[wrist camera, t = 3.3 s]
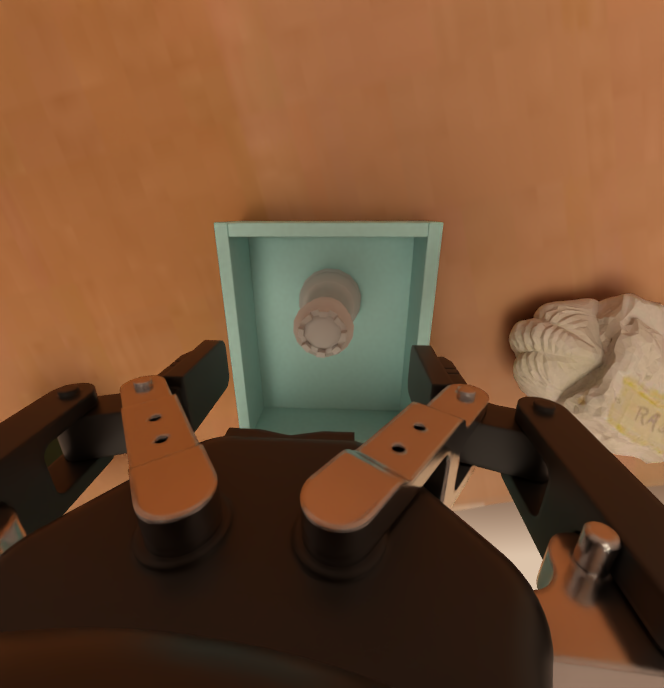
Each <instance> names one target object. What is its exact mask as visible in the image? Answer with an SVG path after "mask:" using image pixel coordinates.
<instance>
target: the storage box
mask: <svg viewBox="0 0 664 688" xmlns="http://www.w3.org/2000/svg"><path fill="white" fill-rule="evenodd" d="M214 230H215V238H216V246H217V254H218V262H219V269H220V277H221V285H222V293H223V301H224V309H225V317H226V325H227V333H228V341H229V348H230V356H231V364H232V372H233V380H234V388H235V396H236V404H237V412H238V420H239V427H240V428H249V429H263V430H267V431H272V432H277V433H281V434H286V435H296V434H304V433H312V432H320V431H335V432H355V441H357V442H361V443H365V442H366V441H367V440H368V439H369V438H370V437H372V436H373V435H374V434H375V433H376V432H378V431H379V430H380V429H381V428H382V427H383V426H385V425H386V424H387V423H388V422H389V421H390V420H392V419H393V418H394V417H395V416H396V415H398V414H399V413H400V412H401V411H402V410H403V409H405V408H406V407H407V406H408V405H409V404H411V400H410V397H409V393H408V373H409V362H410V352H411V347H412V345H429V344H430V335H431V326H432V318H433V309H434V300H435V292H436V283H437V274H438V266H439V257H440V248H441V240H442V231H443V222H435V221H229V222H215V223H214ZM326 268H328V269H339V270H341V271H343V272H345V273H347V274H349V275H350V276H351V277H352V278H353V280H354V281H355V282H356V283H357V284H358V287H359V290H360V294H361V303H360V310H359V313H358V314H357V316H356V318H355V320H354V321H353V324H354V331H353V338H352V340H351V341H350V343H349V345H348V347H347V348H345V349H344V350H343V351H342V352H340V353H339V354H336V355H333V356H329V357H325V358H320V357H316V356H315V355H313V354H311V353H307V352H306V351H305V350H304V349H303V348H302V347H301V346H300V345H299V344H298V343H297V340H296V338H295V335H294V333H293V327H294V319H295V317H296V315H297V313H298V311H299V310H300V307H299V294H300V291H301V288H302V286H303V284H304V282H305V280H306V279H307V278H308V277H310V276H311V275H312V274H313V273H314V272H317V271H320V270H323V269H326Z"/></svg>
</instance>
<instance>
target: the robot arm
mask: <svg viewBox="0 0 664 688" xmlns="http://www.w3.org/2000/svg"><path fill="white" fill-rule="evenodd" d="M228 382H229V370H228V362H227V354H226V347H225V343H224V342H223V341H218V340H205V341H203V342H202V343H201V344H200V345H198V346H197V347H196V348H195V349H194V350H193V351H190V352H188V353H186V354H184V355H181V356H180V357H179V358H178V359H177V360H175V362H173V363H172V364H171V365H170V366H168V367H167V368H166V369H164V370H163V371H162V372H161V373H160V374H158V375H157V376H156V375H151V376H143V377H139V378H135V379H132V380H130V381H128V382H126V383H125V384H123V385H122V386H121V388H120V393H119V394H112V395H104V396H97V393H96V390H95V386H94V385H92V384H89V383H78V384H71V385H66V386H63V387H60V388H58V389H55V390H53V391H51V392H49V393H47V394H46V395H44V396H43V397H41V398H39V399H38V400H36V401H35V402H33V403H32V404H30V405H28V406H27V407H25V408H24V409H22V410H20V411H19V412H17V413H16V414H14V415H12V416H11V417H9V418H8V419H6V420H5V421H3V422H1V423H0V688H664V505H663V504H662V503H661V502H660V501H659V500H658V499H657V498H656V497H655V496H654V495H653V494H652V493H651V492H650V491H649V490H648V489H647V488H646V487H645V486H644V485H643V484H642V483H641V482H640V481H639V480H638V479H637V478H636V477H635V476H634V475H633V474H632V473H631V472H630V471H629V470H628V469H627V468H626V467H625V466H624V465H623V464H622V463H621V462H620V461H619V460H618V459H617V458H616V457H615V456H614V455H613V454H612V453H611V452H610V451H609V450H608V449H607V448H606V447H605V446H604V445H603V444H602V443H601V442H600V441H599V440H598V439H597V438H596V437H595V436H594V435H593V434H592V433H591V432H590V431H589V430H588V429H587V428H586V427H585V426H584V425H583V424H582V423H581V422H580V421H579V420H578V419H577V418H576V417H575V416H574V415H573V414H572V413H571V412H570V411H569V410H568V409H566V408H565V407H564V406H562V405H560V404H559V403H556V402H554V401H551V400H548V399H545V398H540V397H523V398H521V399H519V400H518V403H517V407H516V409H514V408H508V407H503V406H498V405H494V404H491V403H488V402H489V396H488V394H487V393H486V392H485V391H483V390H482V389H480V388H477V387H475V386H471V385H467V383H466V382H465V380H464V379H463V377H462V376H461V375H460V374H459V372H458V370H457V369H456V367H455V366H454V364H453V363H452V362H451V361H449V360H448V359H446V358H444V357H437V355H436V354H435V352H434V350H433V349H432V347H431V346H430V345H412V347H411V352H410V362H409V373H408V393H409V397H410V400H411V404H409V405H408V406H407V407H406V408H405V409H403V410H402V411H401V412H400V413H399V414H398V415H396V416H395V417H394V418H393V419H392V420H390V421H389V422H388V423H387V424H386V425H385V426H383V427H382V428H381V429H380V430H379V431H378V432H376V433H375V434H374V435H373V436H372V437H370V438H369V439H368V440H367V441H366V442H365V443H361V442H357V441H355V432H335V431H320V432H312V433H304V434H296V435H286V434H281V433H277V432H272V431H267V430H263V429H249V428H229V429H228V431H227V433H226V434H225V436H222V437H217V438H212V439H209V440H205V441H203V442H200V443H199V442H198V440H197V438H196V436H195V434H194V432H195V431H196V430H197V428H198V427H199V426H200V424H201V423H202V421H203V420H204V419H205V417H206V416H207V414H208V413H209V412H210V410H211V409H212V408H213V406H214V405H215V403H216V402H217V401H218V399H219V398H220V397H221V395H222V394H223V392H224V391H225V390H226V388H227V386H228ZM56 438H58V441H59V444H60V447H61V449H62V452H63V454H62V455H61V456H60V457H59V458H58V459H56V460H55V461H54V462H53V463H52V464H51V465H50V466H49V467H47V465H46V463H45V460H44V454H45V450H46V448H47V446H48V445H49V444H50V443H51V442H52V441H53V440H54V439H56ZM124 453H127V455H128V462H129V469H128V473H129V480H128V481H126V482H124V483H122V484H120V485H118V486H116V487H115V488H113V489H111V490H109V491H107V492H105V493H103V494H102V495H100V496H98V497H96V498H94V499H92V500H90V501H89V502H87V503H85V504H83V505H81V506H79V507H77V508H76V509H74V510H72V511H70V512H68V513H66V514H64V513H65V512H66V511H67V510H68V509H69V507H70V506H71V505H72V504H73V503H74V502H75V501H76V500H77V499H78V497H79V496H80V495H81V494H82V493H83V492H84V491H85V490H86V488H87V487H88V486H89V485H90V484H91V483H92V482H93V481H94V479H95V478H96V477H97V476H98V475H99V474H100V473H101V472H102V470H103V469H104V468H105V467H106V466H107V465H108V464H109V463H110V462H111V460H112V459H113V457H114V455H119V454H124ZM475 466H477V467H481V468H485V469H489V470H492V471H496V472H500V473H501V476H502V478H503V480H504V482H505V484H506V486H507V488H508V490H509V493H510V495H511V497H512V499H513V501H514V503H515V505H516V507H517V509H518V511H519V513H520V515H521V517H522V519H523V521H524V523H525V525H526V527H527V529H528V531H529V533H530V535H531V537H532V539H533V541H534V543H535V545H536V547H537V549H538V551H539V553H540V555H541V557H542V559H543V561H542V564H541V567H540V570H539V573H538V576H537V588H538V590H533V589H532V587H531V585H530V584H529V583H528V581H527V580H526V579H525V577H524V576H523V574H522V573H521V572H520V571H519V570H518V569H517V567H516V566H515V565H514V564H513V563H512V562H511V561H510V560H509V559H508V558H507V557H506V556H505V555H504V554H502V553H501V552H500V551H499V550H498V549H497V548H495V547H494V546H493V545H492V544H491V543H490V542H488V541H487V540H486V539H485V538H484V537H482V536H481V535H480V534H479V533H478V532H476V531H475V530H474V529H473V528H472V527H471V526H469V525H468V524H467V523H466V522H465V521H464V520H462V519H461V518H460V517H459V516H458V515H456V514H455V513H454V512H453V511H452V510H451V509H452V507H453V505H454V503H455V501H456V499H457V498H458V496H459V494H460V493H461V491H462V489H463V488H464V486H465V485H466V483H467V481H468V480H469V478H470V477H471V475H472V473H473V472H474V470H475ZM63 514H64V515H63ZM62 515H63V516H62Z"/></svg>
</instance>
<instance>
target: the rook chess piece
mask: <svg viewBox="0 0 664 688" xmlns="http://www.w3.org/2000/svg"><path fill="white" fill-rule="evenodd" d="M360 303H361V294H360V290H359V287H358V284H357V283H356V282H355V281H354V280H353V278H352V277H351V276H350V275H349V274H347V273H345V272H343V271H341V270H339V269H328V268H326V269H323V270H320V271H317V272H314V273H313V274H312V275H311V276H310V277H308V278H307V279H306V280H305V282H304V284H303V286H302V288H301V291H300V294H299V307H300V310H299V311H298V313H297V315H296V317H295V319H294V327H293V333H294V335H295V338H296V340H297V343H298V344H299V345H300V346H301V347H302V348H303V349H304V350H305V351H306V352H307V353H311V354H313V355H315V356H316V357H320V358H325V357H329V356H333V355H336V354H339V353H340V352H342V351H343V350H344V349H345V348H347V347H348V345H349V343H350V341H351V340H352V338H353V331H354V324H353V321H354V320H355V318H356V316H357V314H358V313H359V310H360Z"/></svg>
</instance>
